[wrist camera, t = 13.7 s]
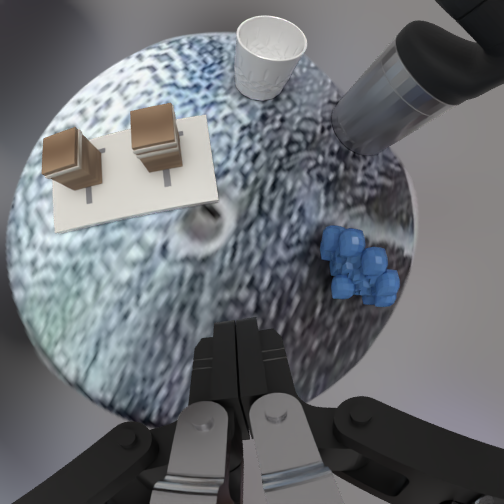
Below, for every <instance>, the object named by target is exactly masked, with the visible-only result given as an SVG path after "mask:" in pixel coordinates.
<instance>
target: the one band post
mask: <svg viewBox="0 0 504 504" xmlns="http://www.w3.org/2000/svg"><path fill="white" fill-rule="evenodd" d="M42 174H43V175H45V178H47V179H52V180H54V181H56V182H58V183H60V184H62V185H64V186H66V187H68V188H70V189H72V190H74V191H75V190H79V189H83V188H86V187H90V186H94V185H98V184H102V164H101V152H100V151H99V150H98V149H97V148H96V147H95V146H94V145H93V144H92V143H91V142H90V141H89V140H88V139H87V138H86V137H85V136H84V135H83V134H82V131H81V130H80V129H77V128H76V127H74V128H71V129H68V130H65V131H62V132H60V133H57V134H54V135H51V136H49V137H46V138H44V139H43V154H42Z"/></svg>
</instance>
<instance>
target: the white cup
mask: <svg viewBox="0 0 504 504" xmlns="http://www.w3.org/2000/svg"><path fill="white" fill-rule="evenodd" d="M306 48H307V40H306V37H305V35H304V34H303V32H302V31H301V30H300V29H299V28H298V27H297V26H296V25H294V24H293V23H291V22H289V21H287V20H285V19H282V18H279V17H274V16H257V17H253V18H250V19H247V20H245V21H244V22H243V23H242V24H241V25H240V26H239V27H238V29H237V36H236V49H235V77H234V78H235V85H236V87H237V89H238V90H239V91H240V92H241V94H243V95H245V96H247V97H248V98H250V99H254V100H261V101H264V100H268V99H272V98H274V97H275V96H277V95H278V94H279V93H280V92H281V91H282V89H283V87H284V85H285V84H286V82H287V81H288V79H289V78H290V76H291V75H292V73H293V71H294V69H295V68H296V66H297V64H298V62H299V61H300V59H301V57H302V55H303V54H304V52H305V50H306Z"/></svg>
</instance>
